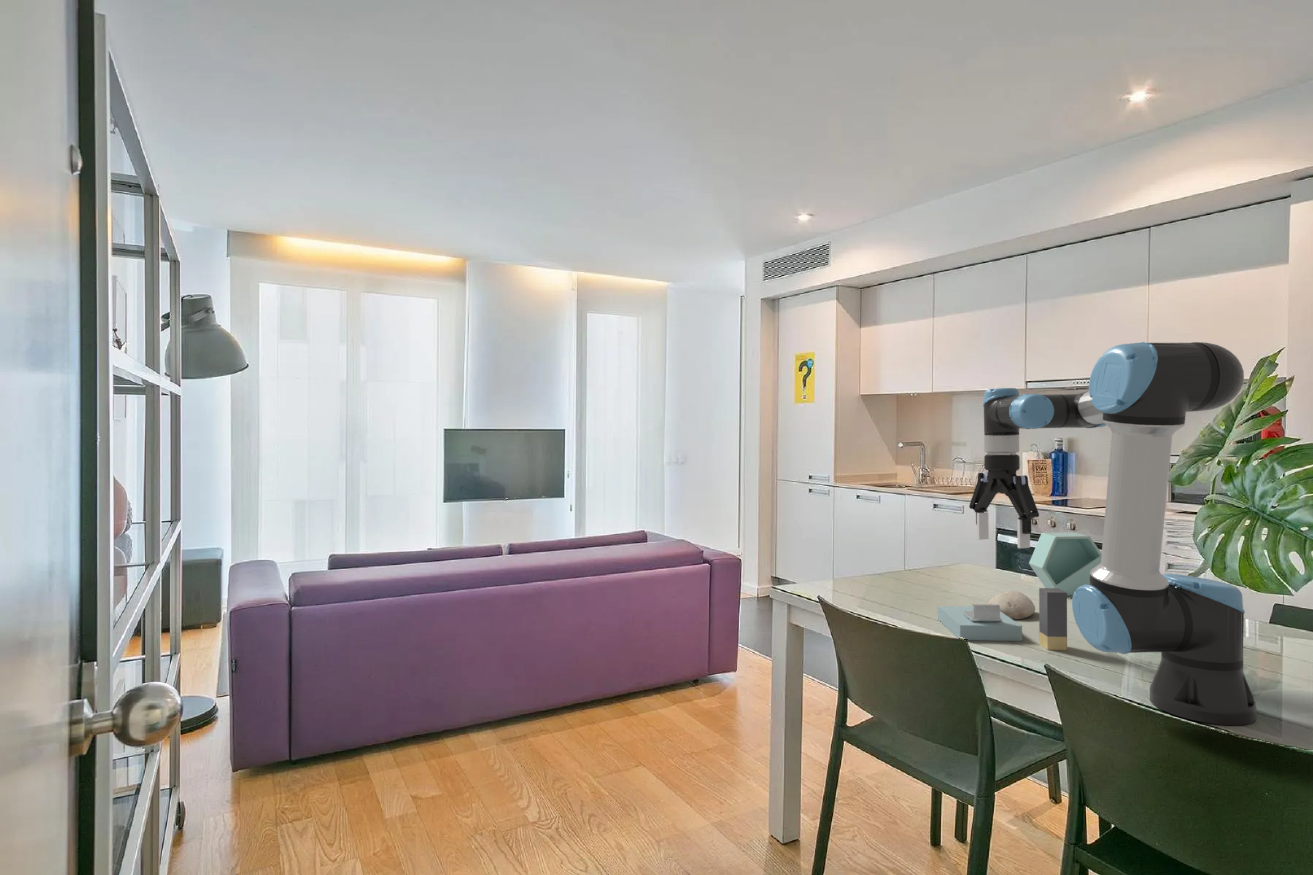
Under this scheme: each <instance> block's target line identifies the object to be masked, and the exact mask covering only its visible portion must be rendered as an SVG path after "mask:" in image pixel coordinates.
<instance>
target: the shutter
mask: <svg viewBox="0 0 1313 875" xmlns="http://www.w3.org/2000/svg"><path fill="white" fill-rule="evenodd" d="M971 606H972V611H963V614H964V615H965V616H966V617H968V618H969V619H970V620H971V621H999V622H1002V619H1001V618H1000V605H988V603H987V604H982V603H981V604H975V603H974V604H973V603H972V605H971Z"/></svg>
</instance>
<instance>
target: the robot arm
mask: <svg viewBox="0 0 1313 875" xmlns="http://www.w3.org/2000/svg"><path fill="white" fill-rule="evenodd" d="M1244 379H1245V373H1244V368H1243V365H1242V364H1241V361H1240V360H1239V359H1238V357H1237V356H1236V355H1235V354H1234V353H1233V352H1232V351H1230V350H1229V349H1227V348H1225V347H1223V346H1221V345H1218V344H1216V343H1209V342H1203V341H1202V342H1200V341H1199V342H1198V341H1195V342H1145V341H1141V342H1134V343H1122V344H1117V345H1114V346H1112V347H1110V348H1108V349H1107V350H1106V351H1105V352H1103V354H1102V356H1100V357H1098V359H1097V361H1096V363H1095V364H1094V366H1093V368H1092V370H1091V374H1090V377H1089V381H1088V391H1084V392H1080V393H1071V394H1059V393H1058V394H1055V393H1054V394H1041V393H1040V394H1039V393H1023V394H1019V393H1020V392H1019V390H1018V389H1017V388H1014V387H1002V388H1001V387H1000V388H999V387H996V388H988V389H986V390H985V391H984V394H983V396H984V397H983V405H982V406H983V429H984V430H983V432H984V433H983V434H984V436H983V451H984V452H985V453H986V454H984V457H983V458H984V465H983V466H984V467H983V468H984V470H986V471H987V472H978V473H977V482H976V485H975V488H974V491H973V494H972V496H971V500H970V503H969V506H968V507H969V509H970V510H973V511H974V513H975V524H976V539H977V540H979V541H981V540H982V541H983V540H989V538H990V537H989V530H990V529H989V527H990V526H989V510H988V508H989V506H990V505H991V503H992V502H993V500H994V499H995V497H996V495H998V494H999V493H1000V494H1004V495H1005V496H1006V497H1008V498H1009V501H1010V502H1011V504H1012V505H1013V508H1014V509H1015V512H1016V513H1017V516H1019V517H1018V518H1017V520H1016V522H1017V523H1016V524H1017V525H1016V526H1017V527H1016V532H1017V549H1030V548H1031V533H1032V520H1033V519H1035V518H1039V516H1040V513H1039V511H1038V507H1037V505H1036V502H1035V499H1034V496H1033V494H1032V491H1031V489H1030V485H1029V478H1028V475H1023V474H1022V475H1018V474H1017V471H1019V470H1020V465H1021V464H1020V463H1021V462H1020V461H1021V460H1020V458H1021V457H1020V455H1019V454H1017V453H1019V452H1020V429H1023V430H1037V429H1065V428H1066V429H1067V428H1069V429H1070V428H1071V429H1073V428H1074V429H1075V428H1076V429H1077V428H1078V429H1079V428H1080V429H1081V428H1083V429H1084V428H1085V429H1096V428H1103V427H1106V426H1107V428H1108V429H1110V431H1111V439H1110V440H1111V441H1110V450H1109V452H1110V453H1109V464H1108V474H1107V485H1106V486H1107V487H1106V499H1105V501H1106V502H1105V508H1104V509H1105V510H1104V512H1105V513H1104V522H1103V524H1104V525H1103V533H1102V546H1101V553H1102V557H1101V563H1100V564H1099V565H1098V566H1096V567H1094V568H1093V569H1091V571H1090V580H1089V585H1083V586H1080V587H1078V588H1077V590H1076V591H1075V592H1074V594H1073V595H1072V599H1071V606H1072V614H1073V617H1074V621H1075V624H1076V626H1077V628H1078V630H1079V631H1080V634H1081V635H1082V637H1083V638H1084V639H1085V641H1086V642H1087V643H1088V644H1089V645H1090V646H1091V647H1093V648H1094V649H1096V650H1097V651H1100V652H1102V653H1116V654H1117V653H1118V654H1121V655H1127V654H1137V653H1140V654H1141V653H1161V654H1160V656H1161V657H1160V662H1159V664H1158V666H1157V669H1156V671H1155V674H1154V676H1153V677H1152V681H1151V684H1150V687H1149V701H1150V703H1151V704H1152V705H1154V706H1155V707H1156V708H1158V709H1160V710H1162V711H1164V712H1167V713H1169V714H1172V715H1174V716H1177V717H1180V718H1184V719H1187V720H1192V721H1194V722H1195V721H1196V722H1200V723H1206V724H1207V723H1208V724H1212V725H1213V724H1214V725H1221V726H1222V725H1223V726H1243V725H1249V724H1252V723H1254V722H1256V720H1257V718H1258V717H1257V712H1258V711H1257V704H1256V703H1257V702H1256V701H1255V699H1254V695H1253V693H1252V690H1251V688H1250V685H1249V683H1248V680H1247V678H1246V675H1245V672H1244V628H1245V627H1244V620H1245V612H1246V611H1245V609H1244V600H1243V593H1242V592H1241V590H1240V589H1239V588H1238V587H1236V586H1234V585H1232V584H1229V583H1226V582H1222V581H1219V580H1213V579H1209V578H1203V577H1198V576H1191V575H1185V574H1178V573H1164V574H1162V573H1161V572H1160V570H1161V569H1160V566H1161V559H1162V547H1163V538H1164V535H1163V534H1164V525H1165V516H1166V504H1167V495H1168V494H1167V493H1168V485H1169V476H1170V475H1169V474H1170V464H1171V456H1172V455H1171V454H1172V445H1173V444H1172V442H1173V435H1174V434H1175V433H1176V432H1177V431H1179V430H1180V429H1181V428H1183V427H1185V424H1186V416H1187V412H1188V413H1189V412H1203V411H1210V410H1211V411H1212V410H1215V409H1218V408H1220V407H1224V406H1226V405H1227V404H1229V403H1230V402H1232V400H1234V399H1235V398H1236V397H1237V395H1238V394H1239V393H1240V392H1241V389H1242V387H1243V385H1244V381H1245V380H1244Z"/></svg>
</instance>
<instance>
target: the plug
mask: <svg viewBox="0 0 1313 875" xmlns="http://www.w3.org/2000/svg"><path fill="white" fill-rule="evenodd" d="M1038 592H1039V593H1038V595H1039V596H1038V604H1039V606H1038V607H1039V608H1038V609H1039V610H1038V611H1039V612H1038V613H1039V614H1038V615H1039V616H1038V617H1039V619H1038V620H1039V622H1038V624H1039V627H1038V628H1039V630H1038V631H1039V633H1038V634H1039V635H1038V636H1039V642H1038V643H1039V645H1040V646H1041V647H1042V648H1044V649H1046V650H1047V651H1068V595H1067V592H1065V591H1063V590H1061V589H1059V588H1045V587H1044V588H1043V587H1039V588H1038Z"/></svg>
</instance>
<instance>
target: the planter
mask: <svg viewBox="0 0 1313 875" xmlns="http://www.w3.org/2000/svg"><path fill="white" fill-rule="evenodd" d="M1101 557H1102V551H1100V548H1098V546H1097V545H1096V543H1095V542H1094V540H1093V539H1092V538H1091V536H1090V535H1086V534H1083V533H1078V532H1072V531H1071V532H1066V531H1065V532H1041V534H1040V536H1039V538H1038V542H1037V543H1036V545H1035V548H1034V550H1033V553H1032V554H1031V557H1030V559H1029V562H1028V565H1030V567H1031V569H1032V570H1033V572H1034V573H1035V575H1036V576H1037V577H1038V579H1039V581H1040V582H1041V583H1042V585H1043V587H1044V588H1059V589H1061V590H1063V591H1065V592H1067V596H1073V594H1074V592H1075V591H1076V590H1077V588H1078V587H1080V586H1083V585H1089V580H1090V571H1091V569H1093V568H1094V567H1096V566H1098V565H1099V564H1100V563H1101Z"/></svg>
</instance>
